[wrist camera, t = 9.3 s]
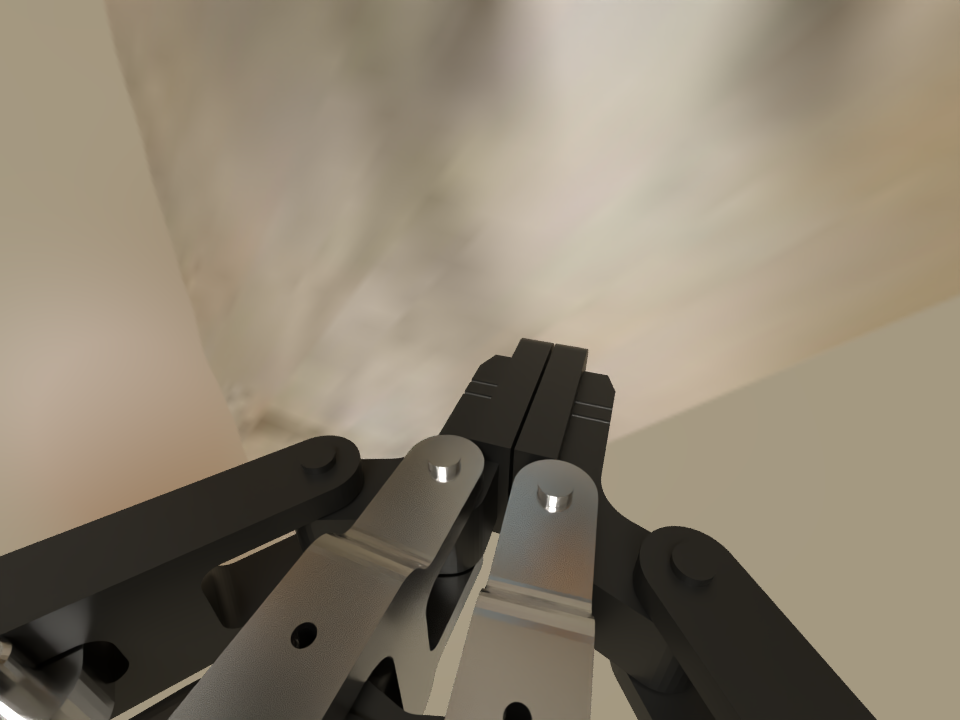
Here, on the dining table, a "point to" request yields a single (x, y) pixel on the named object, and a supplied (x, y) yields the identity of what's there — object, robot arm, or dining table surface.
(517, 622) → the robot arm
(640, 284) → the dining table surface
